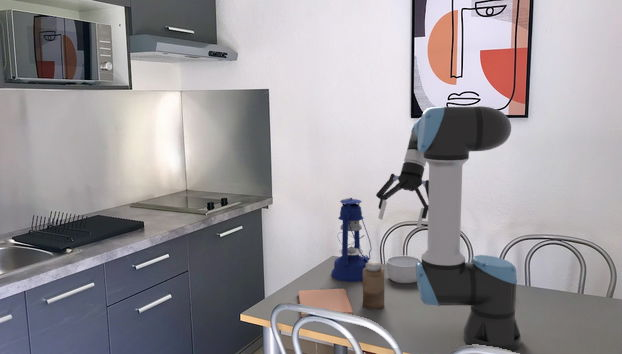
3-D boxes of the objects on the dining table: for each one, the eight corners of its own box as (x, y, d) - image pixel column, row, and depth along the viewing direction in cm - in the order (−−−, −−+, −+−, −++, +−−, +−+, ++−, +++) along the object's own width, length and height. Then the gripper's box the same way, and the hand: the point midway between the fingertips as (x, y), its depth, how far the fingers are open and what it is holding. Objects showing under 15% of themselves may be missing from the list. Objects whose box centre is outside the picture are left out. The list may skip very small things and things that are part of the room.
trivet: (352, 316, 165) (352, 311, 165) (301, 318, 164) (301, 314, 164) (344, 292, 185) (344, 288, 185) (298, 294, 184) (298, 290, 184)
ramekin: (424, 285, 192) (424, 266, 190) (387, 284, 192) (387, 266, 191) (419, 272, 205) (419, 255, 204) (385, 272, 205) (385, 255, 204)
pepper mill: (386, 309, 171) (386, 267, 168) (364, 310, 170) (364, 268, 168) (382, 300, 177) (382, 260, 175) (361, 301, 177) (361, 261, 175)
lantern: (340, 266, 214) (339, 192, 209) (376, 270, 208) (376, 195, 203) (324, 280, 198) (323, 201, 194) (363, 284, 192) (363, 203, 188)
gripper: (451, 174, 184) (436, 233, 179) (382, 162, 194) (367, 217, 190) (448, 167, 177) (433, 228, 173) (377, 155, 187) (362, 212, 183)
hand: (399, 223), depth 181 cm, fingers open, 13 cm apart
